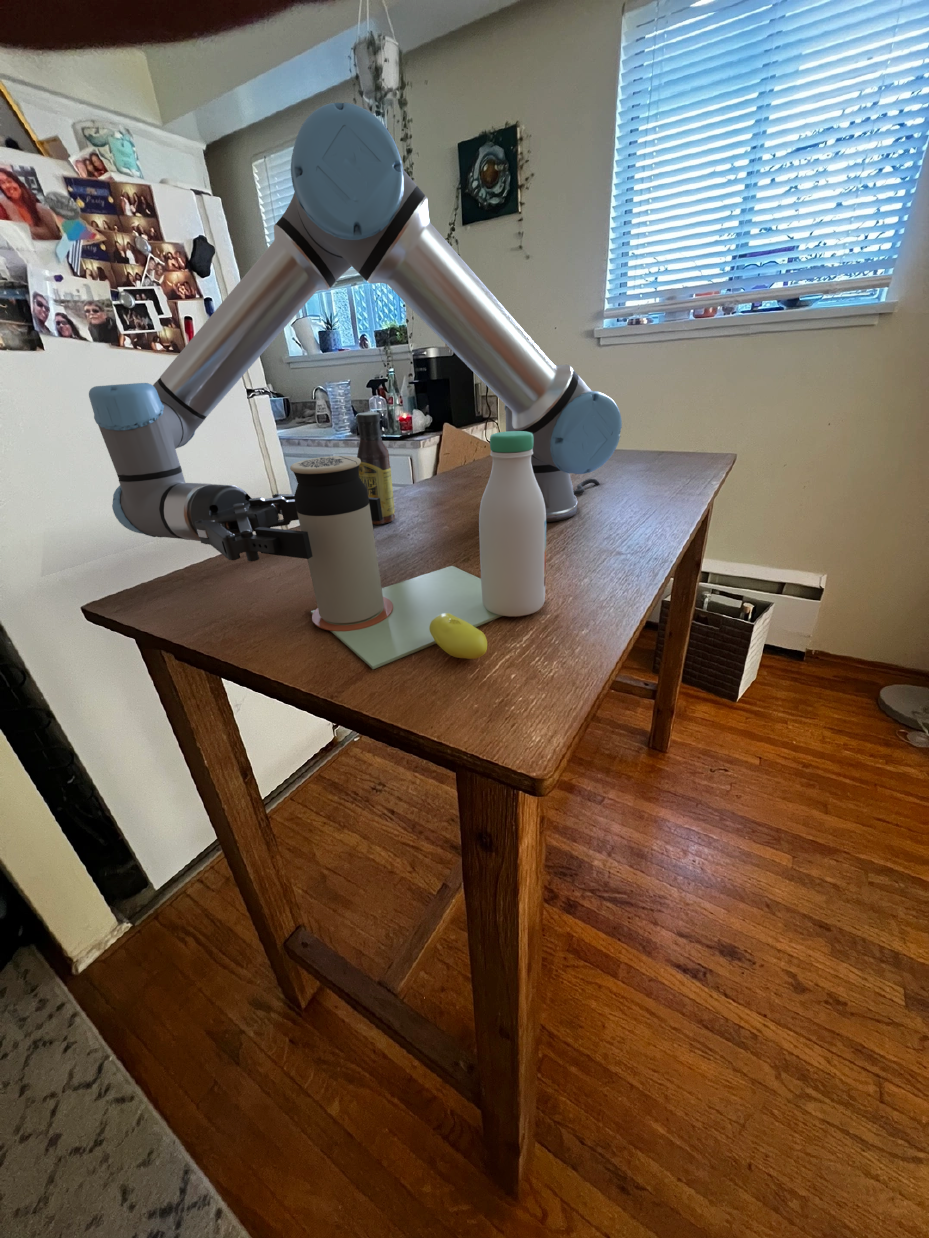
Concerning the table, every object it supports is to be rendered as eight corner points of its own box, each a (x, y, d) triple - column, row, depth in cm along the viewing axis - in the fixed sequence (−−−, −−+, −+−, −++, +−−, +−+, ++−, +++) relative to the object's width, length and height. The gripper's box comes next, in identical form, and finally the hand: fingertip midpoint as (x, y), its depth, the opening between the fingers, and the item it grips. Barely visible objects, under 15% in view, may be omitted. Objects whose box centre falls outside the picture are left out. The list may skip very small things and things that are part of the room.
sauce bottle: (357, 522, 99) (340, 414, 89) (382, 515, 103) (368, 410, 93) (378, 528, 95) (362, 415, 85) (403, 520, 99) (391, 411, 89)
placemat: (448, 566, 76) (447, 562, 75) (530, 604, 62) (530, 600, 62) (300, 613, 64) (299, 609, 64) (364, 673, 51) (363, 668, 50)
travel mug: (326, 631, 58) (292, 473, 49) (314, 605, 64) (283, 461, 56) (392, 615, 61) (370, 462, 52) (374, 592, 67) (353, 452, 59)
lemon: (451, 629, 57) (450, 599, 55) (497, 661, 51) (497, 628, 49) (420, 642, 55) (417, 611, 53) (465, 676, 49) (464, 643, 47)
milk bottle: (542, 619, 58) (546, 437, 49) (477, 616, 59) (468, 440, 50) (546, 591, 64) (550, 427, 55) (487, 589, 66) (481, 429, 57)
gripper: (286, 515, 77) (406, 525, 69) (134, 576, 57) (277, 601, 49) (274, 465, 73) (399, 469, 65) (108, 511, 53) (258, 526, 45)
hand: (347, 525), depth 57 cm, fingers open, 13 cm apart
